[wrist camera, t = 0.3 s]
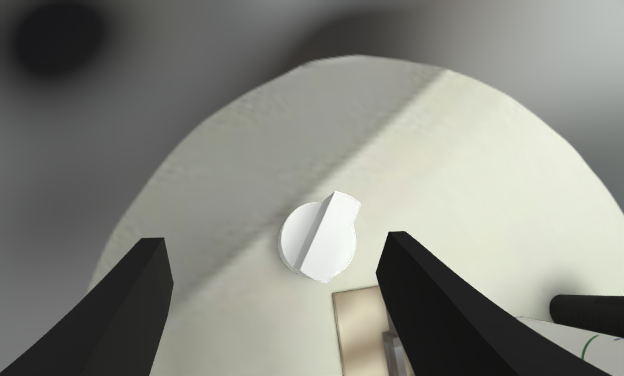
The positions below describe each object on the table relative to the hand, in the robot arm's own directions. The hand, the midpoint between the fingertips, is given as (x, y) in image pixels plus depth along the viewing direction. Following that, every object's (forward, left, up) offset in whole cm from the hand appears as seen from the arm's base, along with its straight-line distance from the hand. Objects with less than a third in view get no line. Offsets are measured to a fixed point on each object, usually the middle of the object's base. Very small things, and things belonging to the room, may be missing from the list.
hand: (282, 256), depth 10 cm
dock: (-14, -16, -31) cm, 37 cm away
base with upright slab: (+1, -7, -31) cm, 32 cm away
